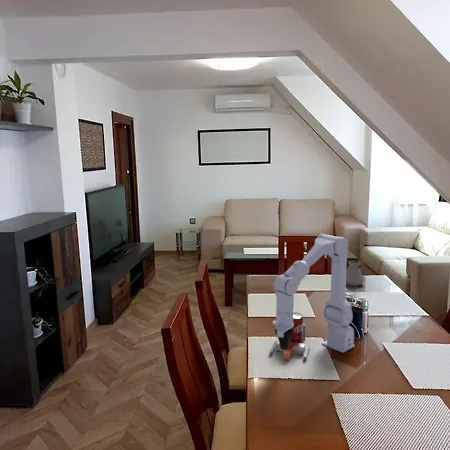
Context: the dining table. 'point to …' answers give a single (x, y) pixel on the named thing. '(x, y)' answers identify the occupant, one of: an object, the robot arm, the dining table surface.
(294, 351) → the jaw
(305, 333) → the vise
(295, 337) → the soda can
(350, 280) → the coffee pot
